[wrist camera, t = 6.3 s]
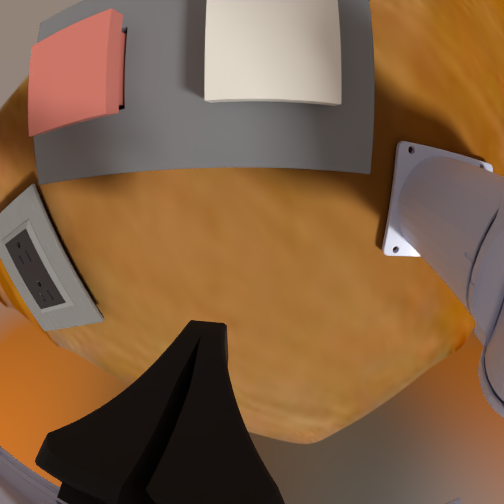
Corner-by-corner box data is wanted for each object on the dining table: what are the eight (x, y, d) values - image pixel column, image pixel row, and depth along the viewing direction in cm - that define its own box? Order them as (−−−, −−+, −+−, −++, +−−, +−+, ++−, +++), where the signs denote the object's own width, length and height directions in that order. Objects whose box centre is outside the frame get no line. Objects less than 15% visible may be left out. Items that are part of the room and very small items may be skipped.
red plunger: (152, 33, 12) (111, 8, 7) (150, 113, 14) (106, 113, 10) (81, 55, 12) (32, 46, 7) (80, 127, 14) (28, 136, 10)
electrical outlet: (-1, 219, 19) (-16, 228, 17) (47, 177, 17) (29, 185, 15) (53, 319, 24) (43, 332, 22) (112, 307, 23) (101, 323, 20)
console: (348, -4, 10) (364, -26, 7) (350, 163, 16) (370, 174, 12) (68, 30, 11) (40, 23, 8) (68, 173, 17) (39, 185, 13)
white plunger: (317, 28, 12) (337, -5, 7) (318, 110, 14) (341, 104, 10) (224, 26, 12) (207, -9, 7) (223, 107, 14) (204, 100, 10)
